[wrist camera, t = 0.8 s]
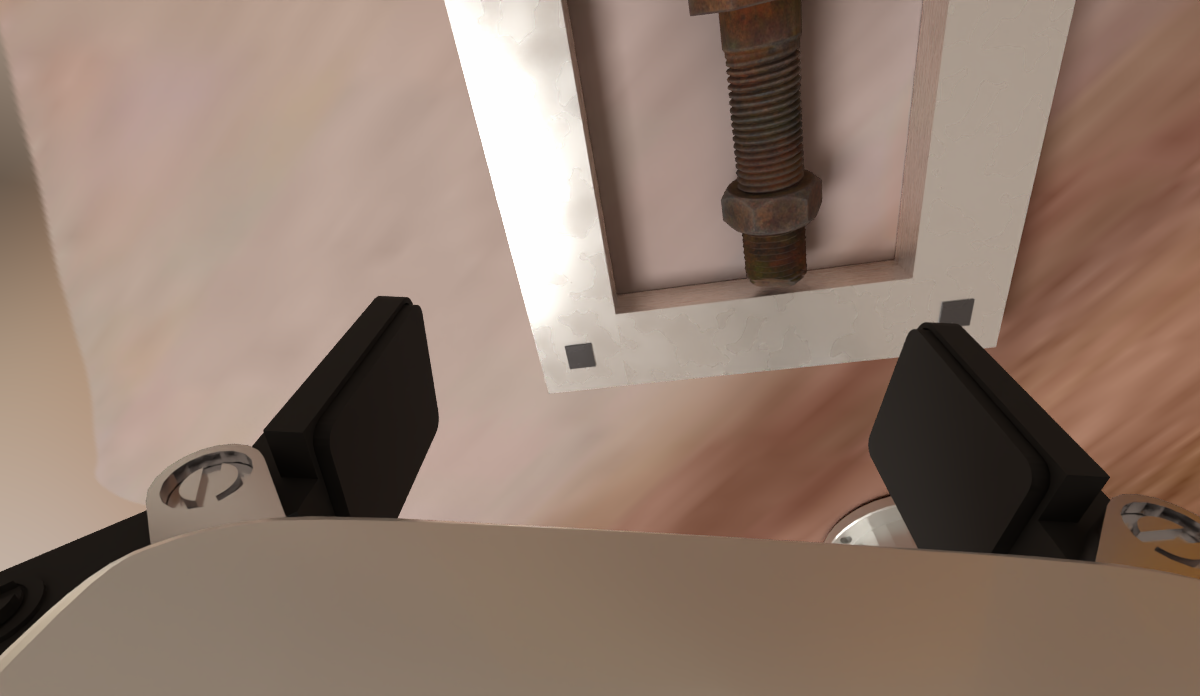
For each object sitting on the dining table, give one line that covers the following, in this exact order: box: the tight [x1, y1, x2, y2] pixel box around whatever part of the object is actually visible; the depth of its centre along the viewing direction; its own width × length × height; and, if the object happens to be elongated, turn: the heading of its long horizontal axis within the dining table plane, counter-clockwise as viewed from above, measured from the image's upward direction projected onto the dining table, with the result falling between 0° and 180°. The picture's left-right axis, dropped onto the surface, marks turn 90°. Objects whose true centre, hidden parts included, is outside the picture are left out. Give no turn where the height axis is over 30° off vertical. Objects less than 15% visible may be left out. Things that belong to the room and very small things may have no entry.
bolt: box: [688, 0, 822, 287], centre depth 27 cm, size 6×5×15 cm
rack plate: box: [444, 0, 1076, 394], centre depth 28 cm, size 26×26×3 cm
